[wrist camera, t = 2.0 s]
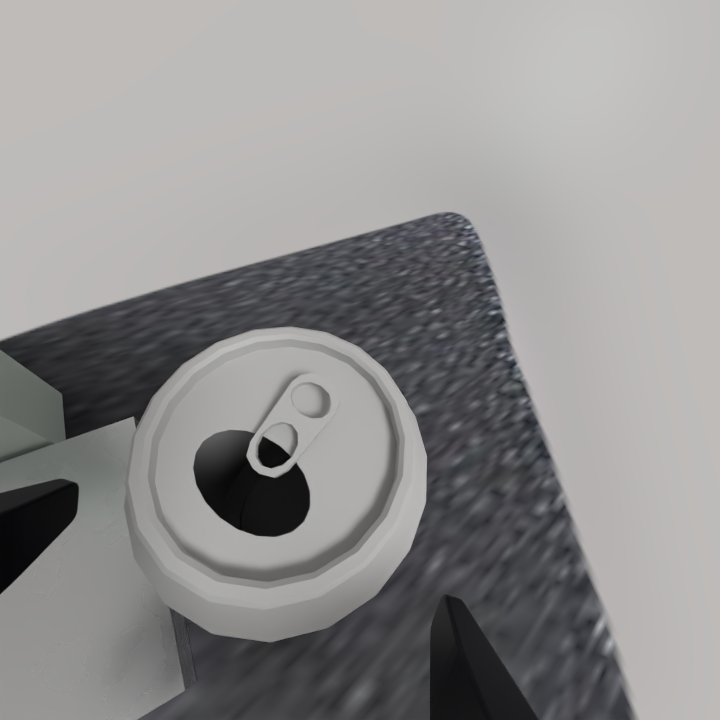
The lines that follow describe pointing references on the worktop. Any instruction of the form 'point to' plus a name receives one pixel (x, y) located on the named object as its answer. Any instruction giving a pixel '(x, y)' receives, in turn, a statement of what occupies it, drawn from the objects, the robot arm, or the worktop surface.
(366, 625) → the worktop surface
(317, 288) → the worktop surface
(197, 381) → the can
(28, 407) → the press frame
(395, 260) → the worktop surface
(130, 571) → the plate
